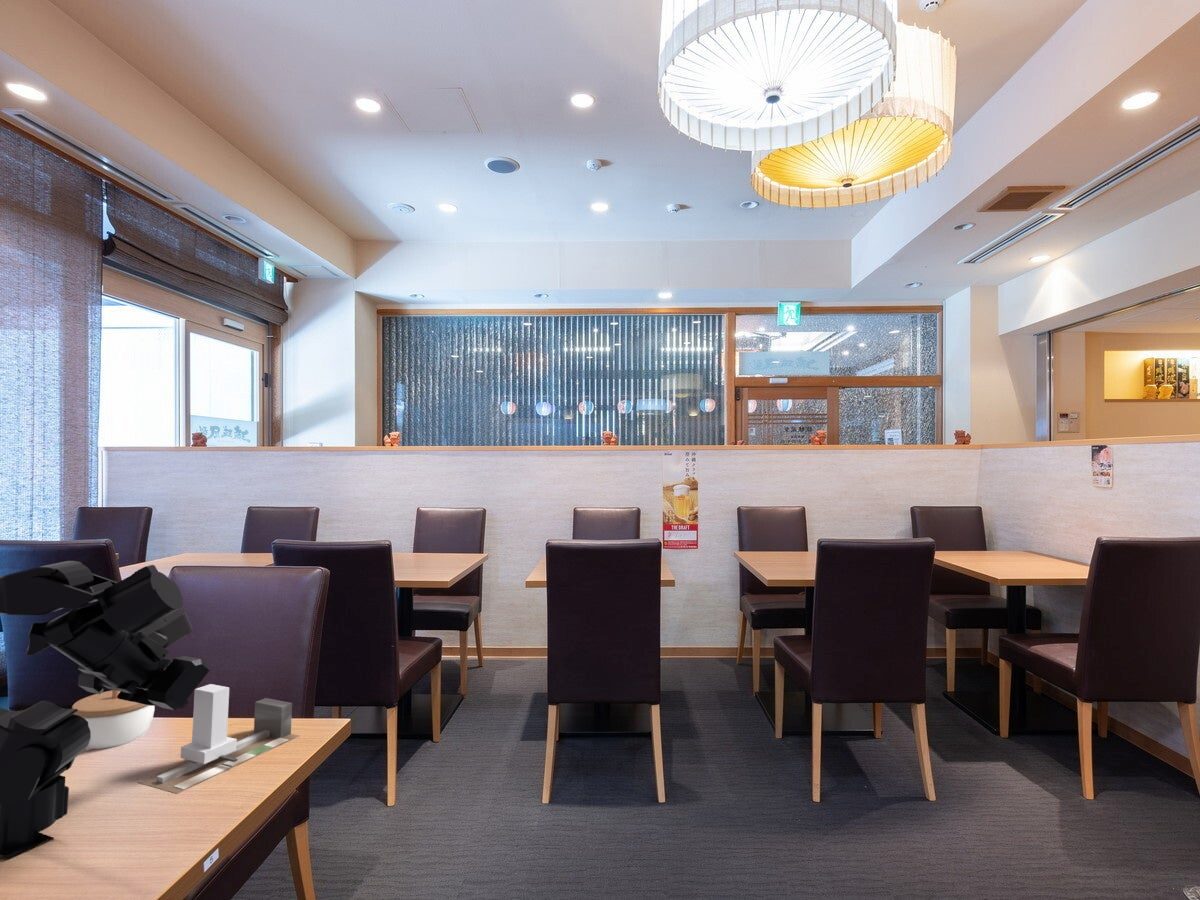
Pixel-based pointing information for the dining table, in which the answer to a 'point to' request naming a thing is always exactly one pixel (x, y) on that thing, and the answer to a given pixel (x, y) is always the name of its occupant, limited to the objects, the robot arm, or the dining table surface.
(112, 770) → the dining table surface
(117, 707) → the lidded jar
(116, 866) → the dining table surface
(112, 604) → the robot arm
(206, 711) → the slider
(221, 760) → the base
